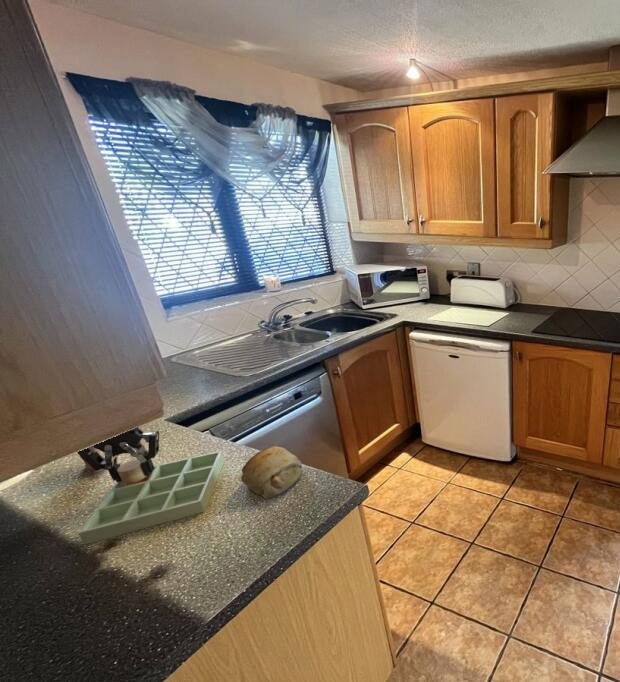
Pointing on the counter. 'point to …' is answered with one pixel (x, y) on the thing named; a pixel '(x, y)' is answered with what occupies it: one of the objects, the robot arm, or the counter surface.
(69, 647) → the counter surface
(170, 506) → the grid
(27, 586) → the counter surface
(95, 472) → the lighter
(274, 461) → the pastry
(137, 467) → the beige short cylinder
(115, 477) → the robot arm
